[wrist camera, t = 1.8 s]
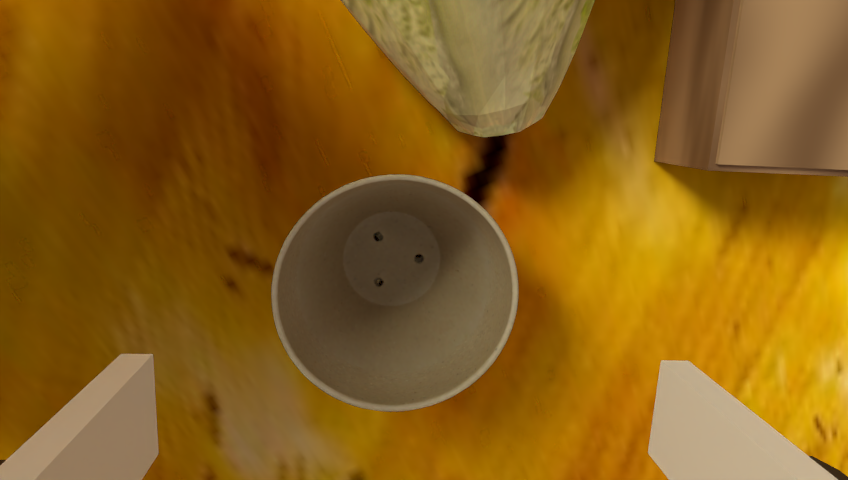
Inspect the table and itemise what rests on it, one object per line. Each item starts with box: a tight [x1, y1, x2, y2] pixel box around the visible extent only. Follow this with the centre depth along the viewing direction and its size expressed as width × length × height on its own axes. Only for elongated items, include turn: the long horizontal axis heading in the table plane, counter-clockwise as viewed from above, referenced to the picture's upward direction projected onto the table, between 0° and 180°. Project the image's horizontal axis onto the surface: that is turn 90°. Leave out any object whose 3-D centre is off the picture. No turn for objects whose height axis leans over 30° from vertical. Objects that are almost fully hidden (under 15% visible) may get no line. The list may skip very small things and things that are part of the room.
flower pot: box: [271, 174, 518, 412], centre depth 27 cm, size 10×10×7 cm
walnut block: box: [654, 0, 848, 177], centre depth 27 cm, size 11×11×5 cm
